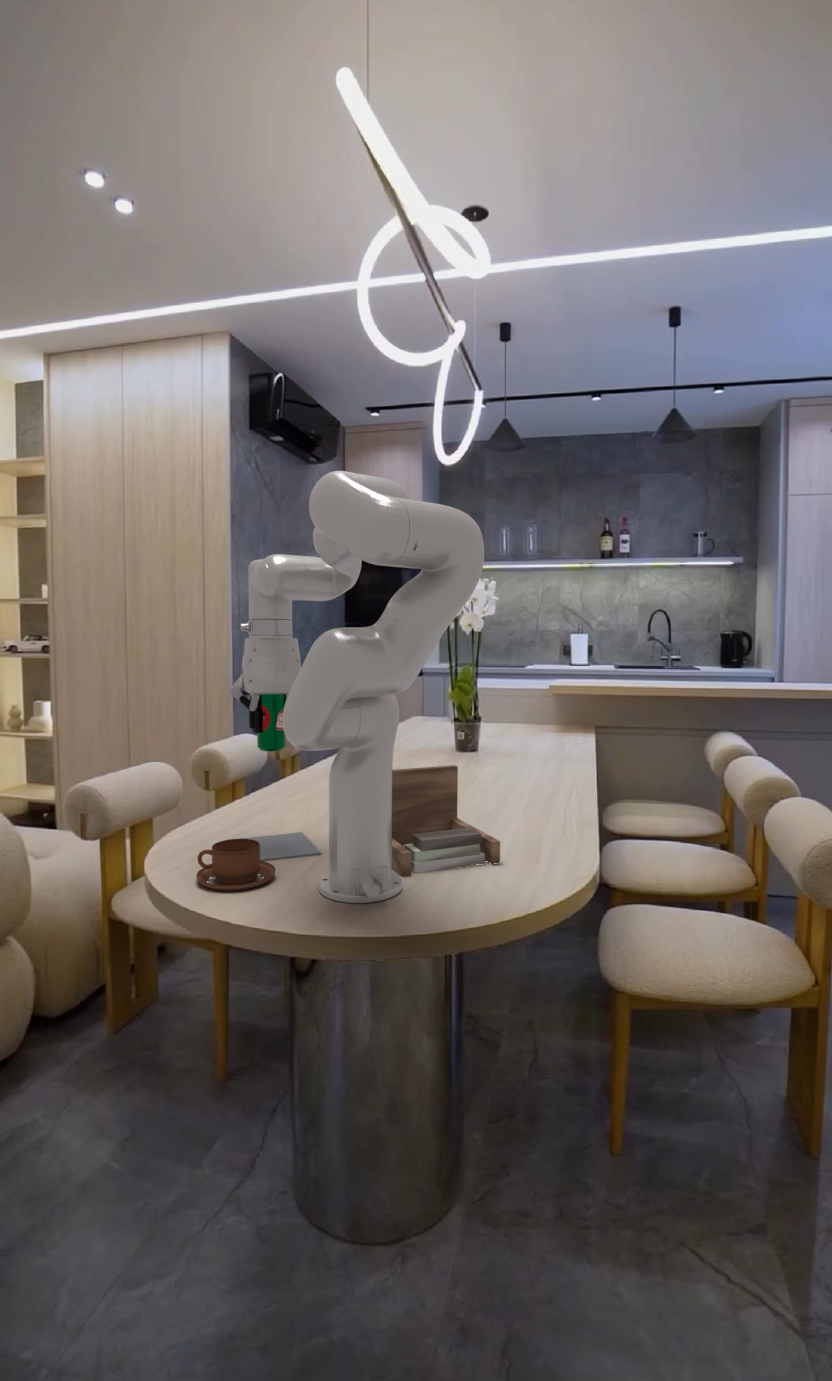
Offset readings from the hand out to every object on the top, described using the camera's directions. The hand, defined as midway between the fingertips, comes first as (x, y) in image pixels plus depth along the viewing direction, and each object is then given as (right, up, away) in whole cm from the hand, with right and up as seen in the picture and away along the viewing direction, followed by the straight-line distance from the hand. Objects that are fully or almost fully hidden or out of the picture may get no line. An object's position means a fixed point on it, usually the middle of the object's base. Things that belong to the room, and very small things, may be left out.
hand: (271, 730), depth 127 cm
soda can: (0, -4, 0) cm, 4 cm away
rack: (+28, -22, -2) cm, 36 cm away
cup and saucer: (-2, -23, -16) cm, 28 cm away
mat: (0, -22, +2) cm, 22 cm away
